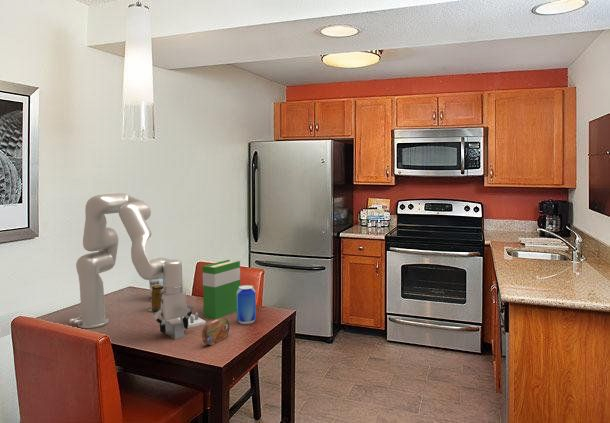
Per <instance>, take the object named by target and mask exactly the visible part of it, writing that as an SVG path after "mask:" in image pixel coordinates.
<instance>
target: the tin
mask: <svg viewBox="0 0 610 423" xmlns="http://www.w3.org/2000/svg"><path fill="white" fill-rule="evenodd" d="M229 331H230V322H229V320H228V318H227V317H221V318H218V319H216V320H215V319H213V320H212V321H210V322H208V323H206V324H204V327H203V328H202V332H201V338H202V339H201V340H202V342H203V343H204V344H206V345H208V346H209V345H210V346H214V345H216V344H218V343H219V342H221V341H222V340H224V339H226V338H227V337H228V335H229Z"/></svg>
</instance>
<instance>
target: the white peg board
mask: <svg viewBox="0 0 610 423" xmlns="http://www.w3.org/2000/svg"><path fill="white" fill-rule="evenodd" d="M187 309H188V308H187ZM188 311H189V309H188ZM183 318H184V317H179V318H177V319H179V320H180V321H182V322H183ZM206 324H207V321H206V320H204V319H202V318H201V317H199V312H194V314H193V313H192V314H191V316H190V317H189V319H188V329H191V328H194V327H199V326H203V325H206ZM184 330H187V329H186V328H184Z"/></svg>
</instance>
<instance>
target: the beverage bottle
mask: <svg viewBox="0 0 610 423" xmlns="http://www.w3.org/2000/svg"><path fill="white" fill-rule="evenodd" d="M148 282H149V300H150V302H152V295H151V293H152V287H153V286H155V285H162V286H163V287H164V282H163V276H160V277H156V278H154V279H151V280H148Z"/></svg>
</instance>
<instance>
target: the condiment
mask: <svg viewBox="0 0 610 423" xmlns="http://www.w3.org/2000/svg"><path fill="white" fill-rule="evenodd" d="M161 289H163V286H162V285H155V286H153V287H152V293H151V295H152V301H151V309H148V311H149V312H151V313H153V315H154V314H155V313H156V312H158V311H159V310H160V309H161V300H162V294H164V293H163V292H162V293H161V291H160V290H161Z"/></svg>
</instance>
